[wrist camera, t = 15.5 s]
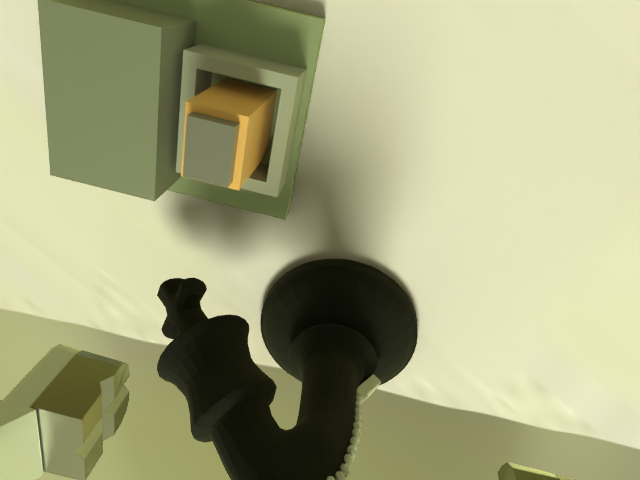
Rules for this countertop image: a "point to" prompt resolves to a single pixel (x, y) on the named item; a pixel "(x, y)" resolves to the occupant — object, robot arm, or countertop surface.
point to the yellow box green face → (227, 132)
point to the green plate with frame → (170, 90)
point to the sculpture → (289, 366)
